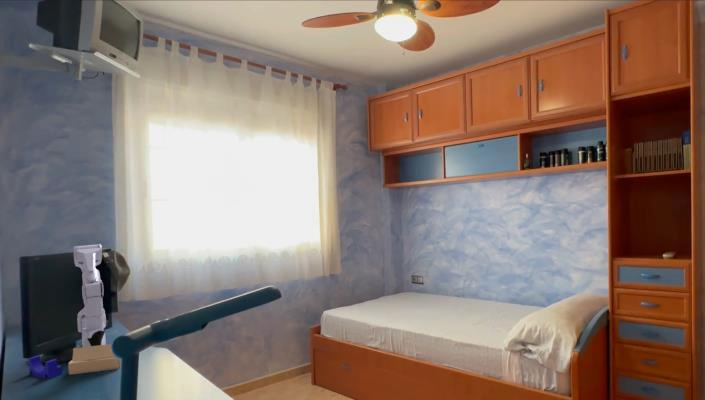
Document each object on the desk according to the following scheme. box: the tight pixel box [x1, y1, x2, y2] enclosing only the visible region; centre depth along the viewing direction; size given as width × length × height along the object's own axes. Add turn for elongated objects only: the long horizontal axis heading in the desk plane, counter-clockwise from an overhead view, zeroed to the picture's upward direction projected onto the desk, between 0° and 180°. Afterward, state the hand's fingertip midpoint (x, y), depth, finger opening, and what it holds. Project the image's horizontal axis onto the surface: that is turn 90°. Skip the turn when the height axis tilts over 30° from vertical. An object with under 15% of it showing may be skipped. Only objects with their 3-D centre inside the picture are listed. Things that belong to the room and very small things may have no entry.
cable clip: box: [28, 355, 63, 380], centre depth 155 cm, size 12×4×6 cm, turn 64°
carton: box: [67, 357, 121, 375], centre depth 162 cm, size 14×17×4 cm
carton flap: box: [71, 343, 114, 362], centre depth 156 cm, size 4×14×1 cm
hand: (96, 352), depth 158 cm, fingers closed
